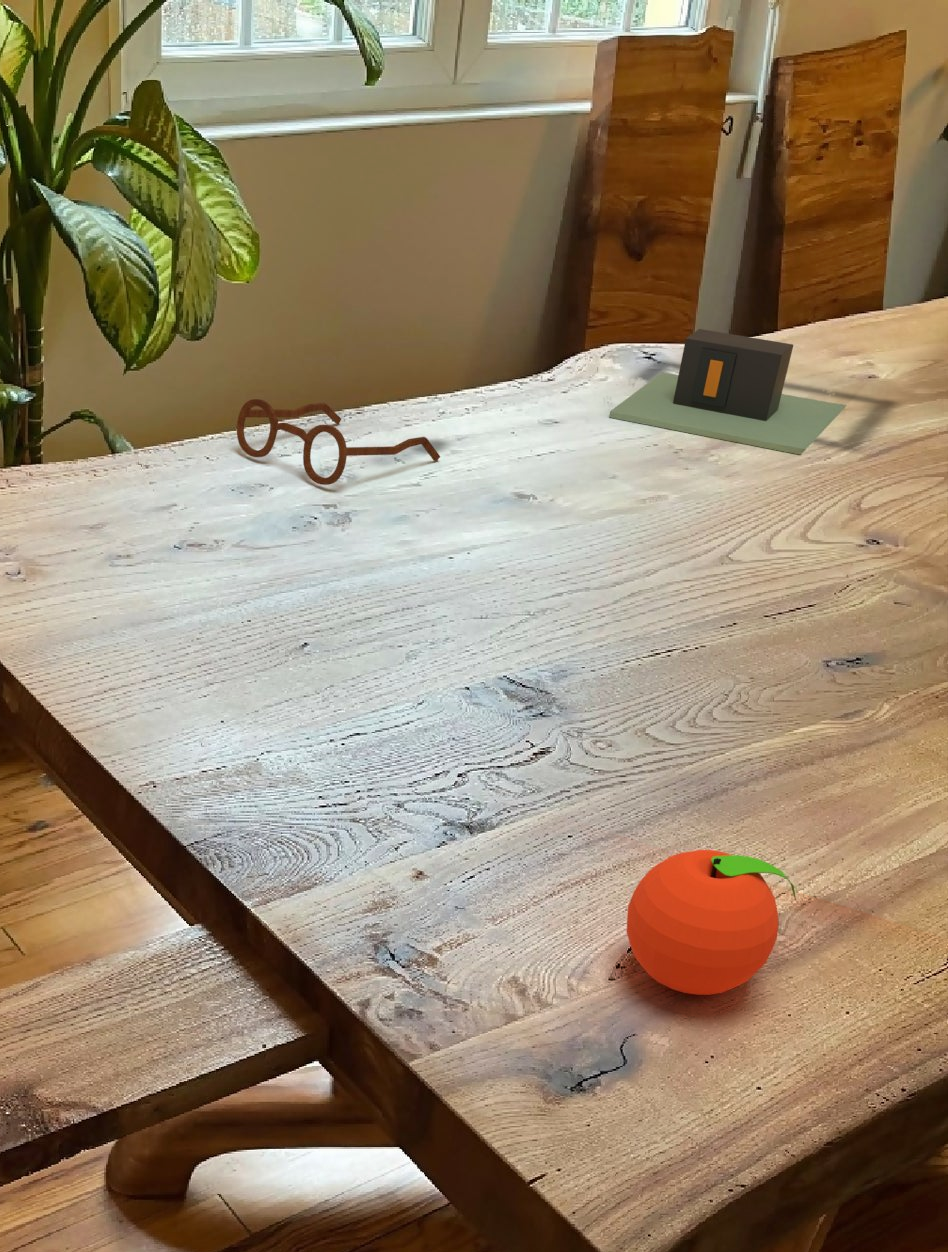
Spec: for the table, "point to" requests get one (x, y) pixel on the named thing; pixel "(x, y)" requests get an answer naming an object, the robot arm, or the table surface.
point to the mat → (730, 418)
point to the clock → (732, 374)
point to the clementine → (704, 920)
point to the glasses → (309, 437)
